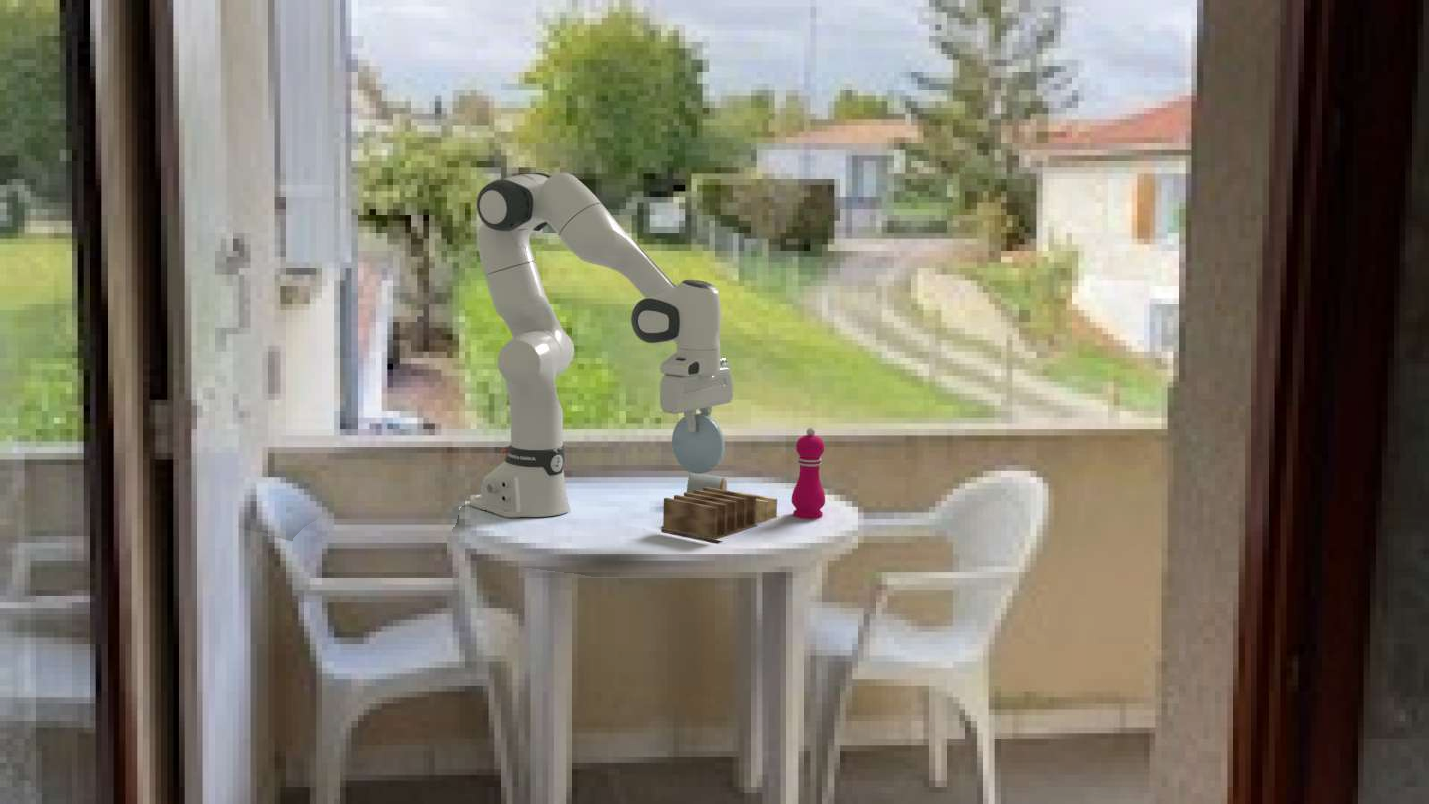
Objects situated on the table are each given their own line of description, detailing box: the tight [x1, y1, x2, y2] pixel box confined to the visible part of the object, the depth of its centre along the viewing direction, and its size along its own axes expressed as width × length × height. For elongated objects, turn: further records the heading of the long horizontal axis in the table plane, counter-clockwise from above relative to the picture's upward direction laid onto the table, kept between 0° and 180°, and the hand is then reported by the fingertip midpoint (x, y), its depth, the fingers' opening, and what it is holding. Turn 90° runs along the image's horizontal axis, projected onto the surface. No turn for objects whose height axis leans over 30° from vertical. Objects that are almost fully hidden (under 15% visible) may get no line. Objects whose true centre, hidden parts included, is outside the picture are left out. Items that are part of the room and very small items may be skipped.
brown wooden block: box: [737, 491, 780, 522], centre depth 312 cm, size 10×6×5 cm, turn 54°
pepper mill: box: [791, 427, 826, 520], centre depth 312 cm, size 7×7×20 cm
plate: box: [671, 413, 726, 474], centre depth 295 cm, size 12×2×12 cm, turn 54°
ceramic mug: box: [686, 472, 728, 493], centre depth 324 cm, size 11×8×8 cm
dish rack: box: [660, 487, 758, 545], centre depth 301 cm, size 14×14×7 cm
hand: (697, 430), depth 294 cm, fingers closed on plate, 2 cm apart
